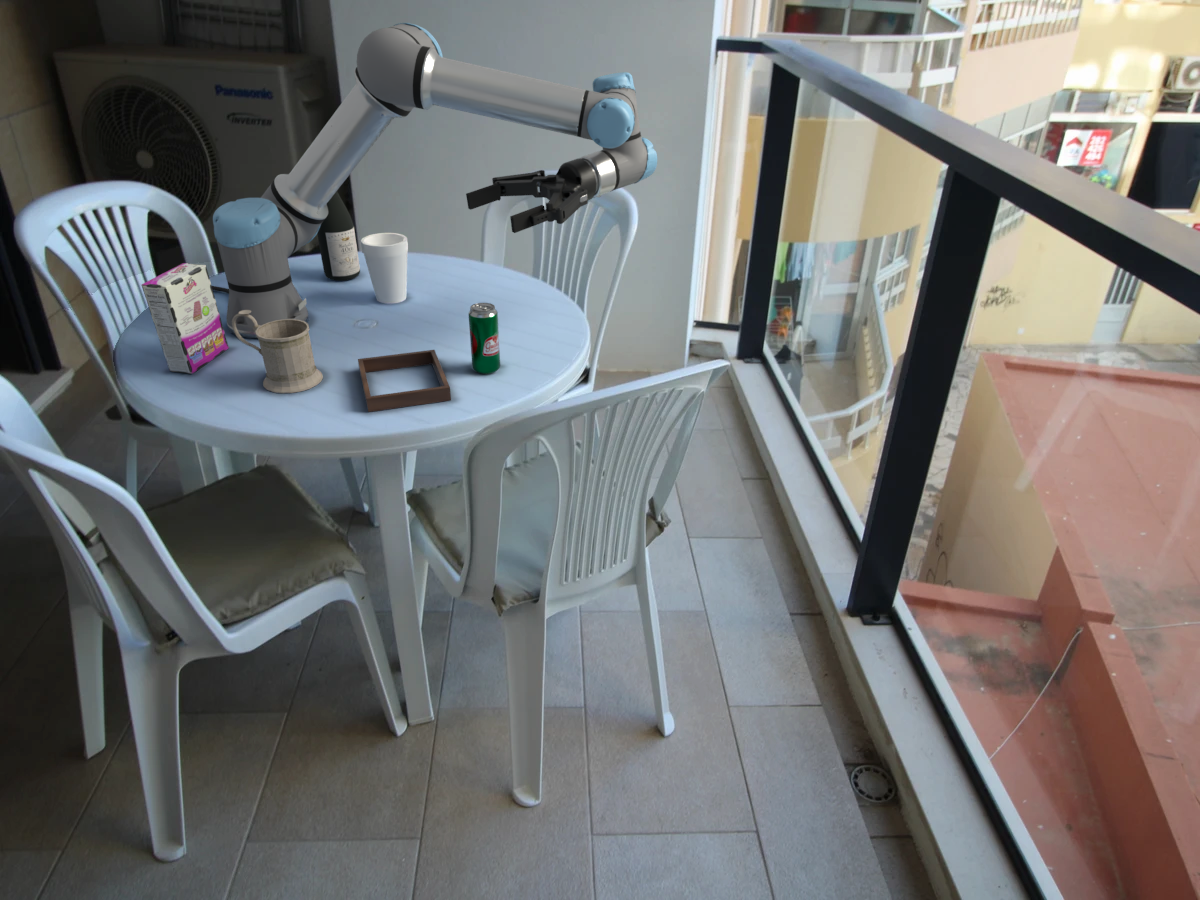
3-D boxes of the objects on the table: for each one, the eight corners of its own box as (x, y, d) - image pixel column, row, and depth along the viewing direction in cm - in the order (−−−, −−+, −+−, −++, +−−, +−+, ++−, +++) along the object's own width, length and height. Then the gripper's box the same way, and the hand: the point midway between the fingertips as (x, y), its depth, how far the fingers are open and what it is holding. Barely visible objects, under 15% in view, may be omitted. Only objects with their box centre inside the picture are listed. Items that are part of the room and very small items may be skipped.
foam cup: (422, 296, 170) (416, 238, 163) (391, 309, 163) (384, 249, 157) (391, 287, 174) (384, 230, 167) (360, 300, 168) (351, 240, 161)
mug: (333, 371, 139) (321, 308, 132) (303, 396, 131) (289, 330, 124) (261, 361, 141) (246, 299, 135) (227, 385, 133) (210, 320, 127)
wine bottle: (367, 276, 180) (347, 140, 164) (336, 285, 175) (313, 145, 159) (349, 268, 184) (327, 134, 168) (318, 276, 180) (293, 139, 164)
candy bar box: (206, 346, 146) (182, 261, 138) (230, 349, 146) (208, 264, 137) (166, 372, 137) (139, 283, 128) (192, 375, 136) (166, 285, 128)
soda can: (488, 378, 138) (484, 314, 131) (466, 370, 140) (461, 308, 134) (506, 367, 142) (503, 305, 135) (484, 360, 144) (480, 299, 137)
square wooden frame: (359, 371, 139) (357, 358, 138) (435, 361, 143) (434, 349, 142) (368, 412, 127) (366, 398, 125) (451, 400, 131) (450, 387, 129)
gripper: (630, 217, 137) (534, 256, 128) (546, 180, 152) (454, 212, 143) (630, 176, 133) (530, 213, 123) (543, 141, 148) (447, 172, 138)
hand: (489, 213), depth 133 cm, fingers open, 13 cm apart
